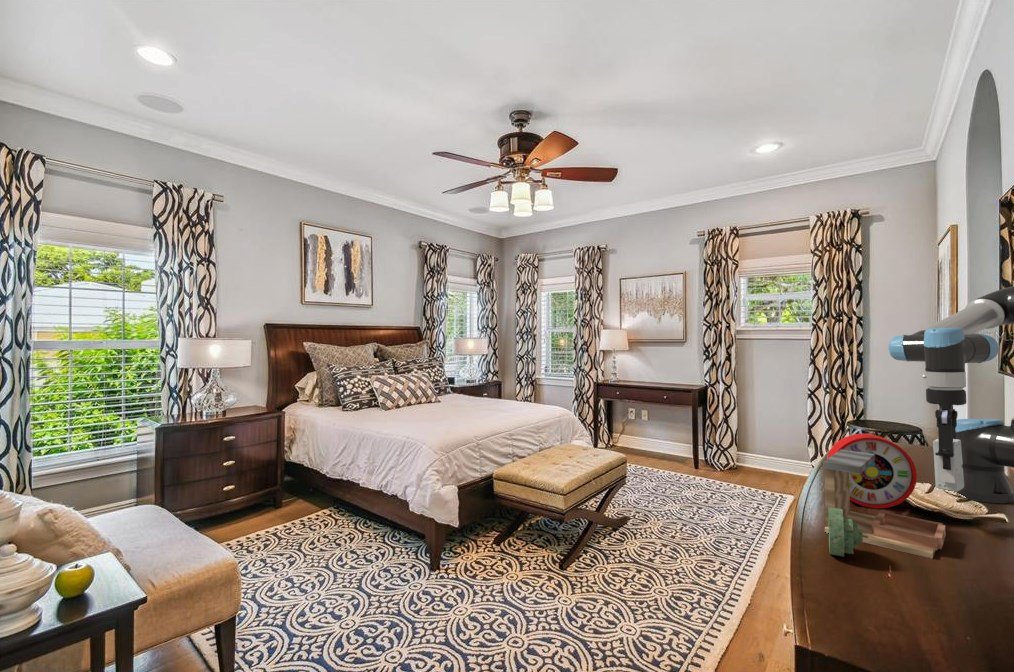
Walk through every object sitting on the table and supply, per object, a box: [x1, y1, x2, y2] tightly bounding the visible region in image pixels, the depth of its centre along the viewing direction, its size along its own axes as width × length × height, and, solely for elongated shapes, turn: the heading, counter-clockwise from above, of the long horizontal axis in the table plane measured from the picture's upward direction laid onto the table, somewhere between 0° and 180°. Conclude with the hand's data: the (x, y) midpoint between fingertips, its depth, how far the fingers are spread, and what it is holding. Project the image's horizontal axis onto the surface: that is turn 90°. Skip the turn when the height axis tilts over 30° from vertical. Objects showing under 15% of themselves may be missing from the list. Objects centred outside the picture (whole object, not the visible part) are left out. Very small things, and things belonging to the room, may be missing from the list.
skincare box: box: [932, 438, 964, 492], centre depth 120 cm, size 6×4×12 cm
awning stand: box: [822, 450, 947, 560], centre depth 116 cm, size 18×21×18 cm
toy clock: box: [826, 433, 918, 509], centre depth 137 cm, size 20×6×20 cm, turn 68°
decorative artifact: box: [828, 507, 868, 558], centre depth 105 cm, size 10×7×10 cm
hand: (948, 478), depth 120 cm, fingers closed on skincare box, 6 cm apart
